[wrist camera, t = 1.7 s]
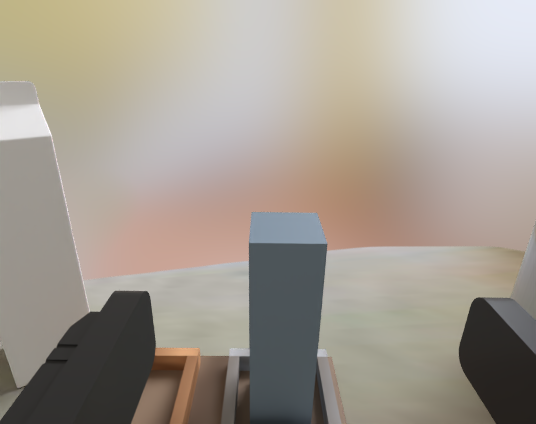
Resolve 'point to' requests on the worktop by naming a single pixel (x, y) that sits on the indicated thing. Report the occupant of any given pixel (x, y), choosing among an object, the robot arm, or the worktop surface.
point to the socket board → (220, 389)
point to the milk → (33, 238)
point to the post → (284, 314)
